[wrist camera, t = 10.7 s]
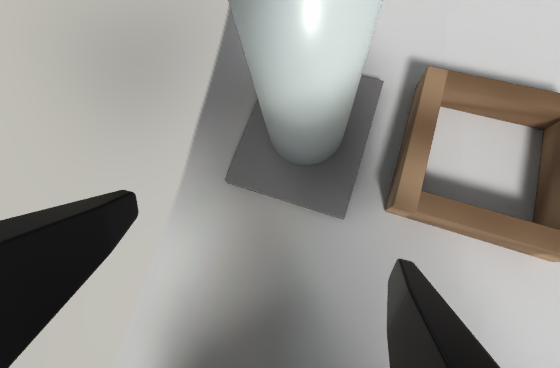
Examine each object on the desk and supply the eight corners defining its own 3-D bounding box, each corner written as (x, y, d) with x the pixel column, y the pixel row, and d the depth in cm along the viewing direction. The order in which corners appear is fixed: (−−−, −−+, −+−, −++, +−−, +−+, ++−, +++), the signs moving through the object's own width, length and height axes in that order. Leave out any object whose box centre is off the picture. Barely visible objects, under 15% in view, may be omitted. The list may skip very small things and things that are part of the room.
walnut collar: (552, 261, 16) (585, 261, 14) (385, 211, 18) (394, 204, 16) (567, 118, 18) (597, 101, 16) (416, 85, 20) (428, 66, 18)
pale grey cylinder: (331, 174, 18) (387, -26, 5) (258, 153, 19) (163, -63, 6) (352, 107, 19) (440, -188, 7) (283, 89, 20) (242, -201, 7)
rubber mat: (343, 219, 18) (344, 217, 17) (227, 182, 19) (224, 180, 18) (381, 86, 20) (383, 80, 19) (275, 62, 21) (274, 56, 21)
